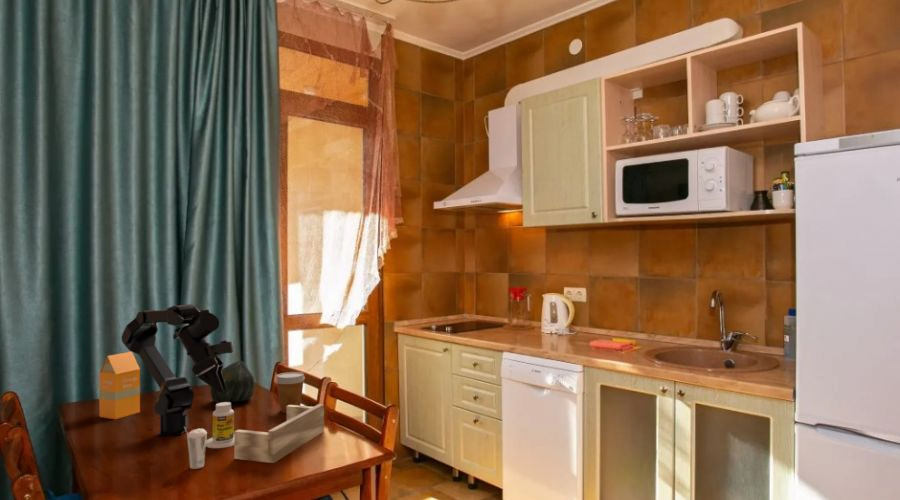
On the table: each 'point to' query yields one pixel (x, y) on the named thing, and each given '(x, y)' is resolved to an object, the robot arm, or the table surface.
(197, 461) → the milkshake
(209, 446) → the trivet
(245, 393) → the squash
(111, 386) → the orange juice
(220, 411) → the supplement bottle
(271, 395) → the table surface
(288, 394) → the disposable coffee cup
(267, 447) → the wooden u-shaped barrier
